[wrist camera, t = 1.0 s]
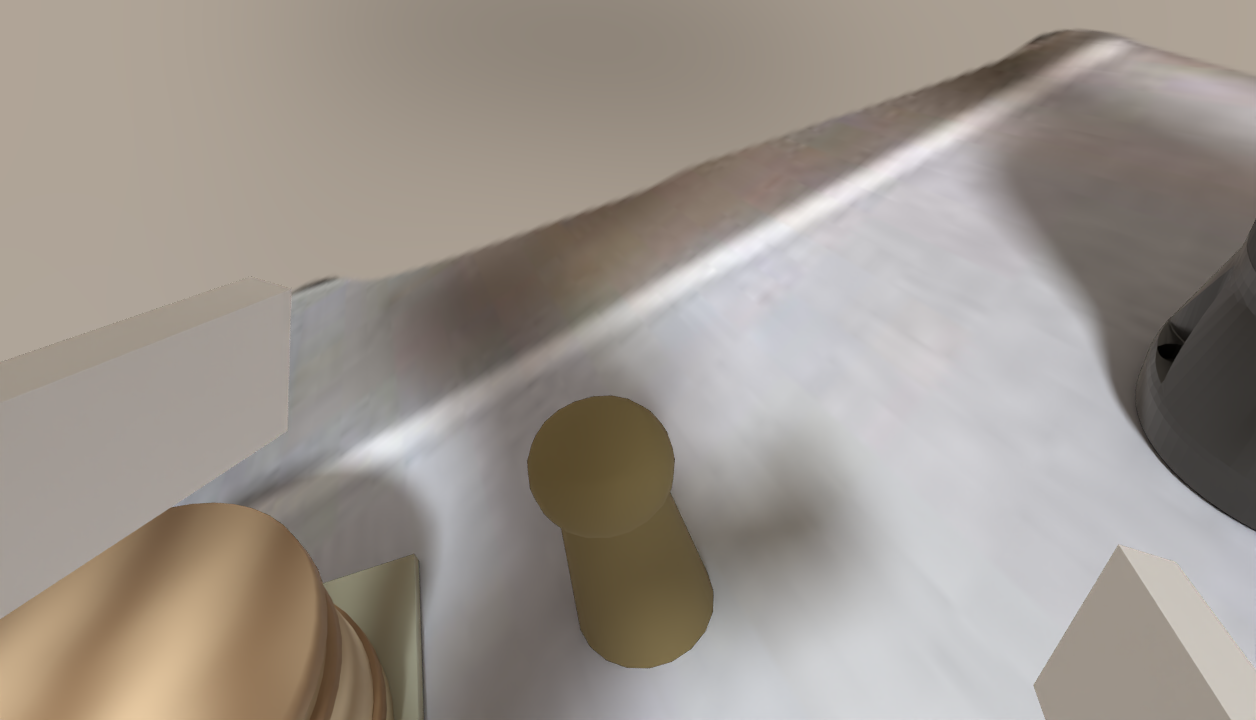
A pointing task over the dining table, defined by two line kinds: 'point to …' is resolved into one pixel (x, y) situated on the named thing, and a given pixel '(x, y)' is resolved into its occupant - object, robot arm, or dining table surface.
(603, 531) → the cork
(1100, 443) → the dining table surface
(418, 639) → the stack of pancakes
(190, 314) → the robot arm
